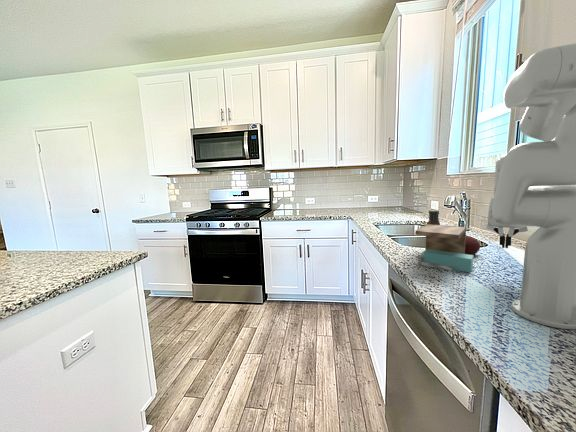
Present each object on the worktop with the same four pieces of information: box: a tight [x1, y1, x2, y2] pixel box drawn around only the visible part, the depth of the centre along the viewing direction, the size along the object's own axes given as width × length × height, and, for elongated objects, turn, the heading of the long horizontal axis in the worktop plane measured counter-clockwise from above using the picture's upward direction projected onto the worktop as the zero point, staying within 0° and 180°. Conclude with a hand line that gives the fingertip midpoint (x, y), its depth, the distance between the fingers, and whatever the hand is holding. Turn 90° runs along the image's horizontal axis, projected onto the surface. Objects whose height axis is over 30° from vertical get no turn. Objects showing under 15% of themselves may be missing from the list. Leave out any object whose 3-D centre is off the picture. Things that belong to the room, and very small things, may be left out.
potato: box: [465, 235, 481, 255], centre depth 114 cm, size 12×11×8 cm
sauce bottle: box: [424, 209, 441, 250], centre depth 116 cm, size 6×6×20 cm
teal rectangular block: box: [422, 249, 475, 273], centre depth 99 cm, size 16×6×5 cm, turn 48°
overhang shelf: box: [414, 223, 467, 271], centre depth 101 cm, size 14×19×14 cm
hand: (504, 247), depth 87 cm, fingers closed
